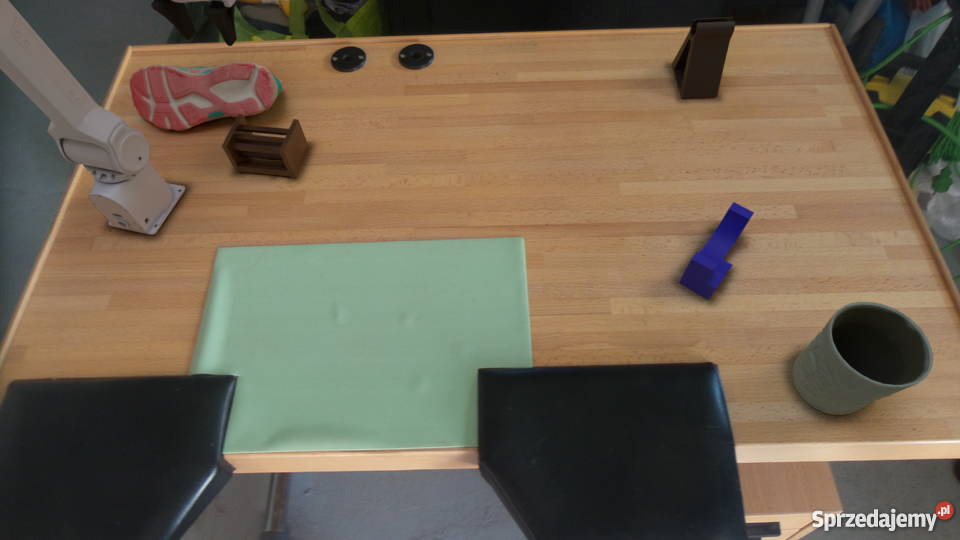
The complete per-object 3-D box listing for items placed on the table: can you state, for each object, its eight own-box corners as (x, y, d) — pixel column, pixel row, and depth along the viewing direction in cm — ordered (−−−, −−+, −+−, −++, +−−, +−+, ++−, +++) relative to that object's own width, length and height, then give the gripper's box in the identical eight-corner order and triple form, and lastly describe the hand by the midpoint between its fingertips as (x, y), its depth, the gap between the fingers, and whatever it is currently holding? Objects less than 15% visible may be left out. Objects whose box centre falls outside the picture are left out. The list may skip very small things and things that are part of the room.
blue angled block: (708, 300, 77) (723, 277, 72) (679, 282, 79) (691, 258, 74) (748, 243, 82) (764, 217, 77) (719, 227, 83) (733, 201, 78)
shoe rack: (295, 178, 91) (283, 151, 86) (236, 172, 92) (221, 145, 87) (309, 146, 94) (298, 119, 89) (252, 141, 95) (238, 113, 90)
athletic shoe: (300, 102, 102) (274, 32, 98) (280, 107, 93) (251, 30, 89) (170, 140, 106) (140, 75, 102) (139, 148, 97) (105, 77, 93)
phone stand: (671, 65, 103) (690, 3, 93) (704, 64, 103) (727, 2, 93) (681, 99, 98) (702, 38, 88) (716, 98, 98) (741, 37, 88)
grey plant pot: (885, 386, 70) (951, 345, 60) (841, 440, 67) (903, 407, 57) (811, 330, 74) (861, 284, 64) (766, 379, 71) (811, 338, 61)
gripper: (229, -52, 84) (262, 30, 95) (143, -63, 86) (185, 19, 97) (206, -26, 80) (242, 56, 91) (116, -37, 82) (163, 44, 94)
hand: (211, 39), depth 94 cm, fingers open, 7 cm apart
